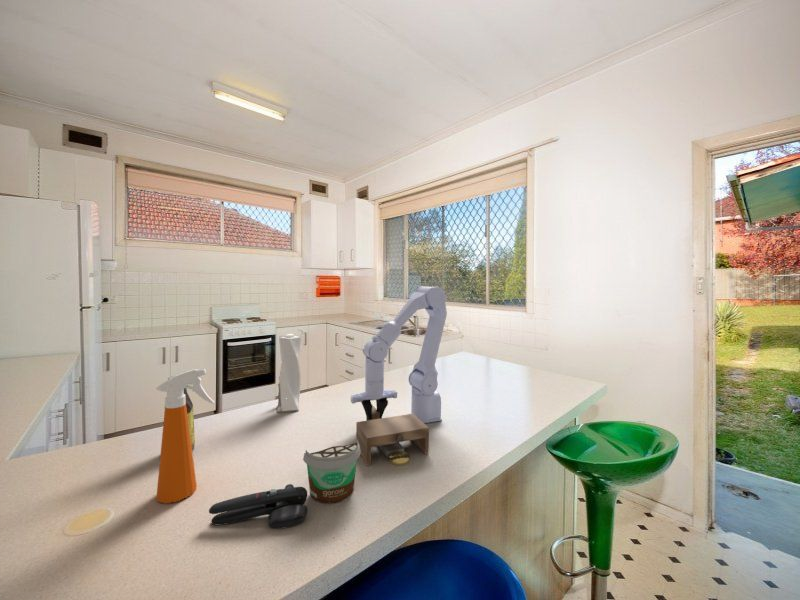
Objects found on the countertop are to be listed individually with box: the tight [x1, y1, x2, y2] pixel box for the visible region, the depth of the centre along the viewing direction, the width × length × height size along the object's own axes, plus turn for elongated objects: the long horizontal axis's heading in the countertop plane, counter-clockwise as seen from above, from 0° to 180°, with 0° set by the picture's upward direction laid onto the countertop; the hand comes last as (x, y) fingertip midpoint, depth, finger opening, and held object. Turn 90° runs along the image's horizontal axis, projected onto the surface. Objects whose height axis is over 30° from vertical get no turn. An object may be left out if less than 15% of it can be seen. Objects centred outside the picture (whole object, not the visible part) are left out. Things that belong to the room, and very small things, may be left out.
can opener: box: [208, 483, 309, 529], centre depth 63 cm, size 18×7×6 cm, turn 98°
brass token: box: [389, 451, 410, 467], centre depth 85 cm, size 5×5×1 cm
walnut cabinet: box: [355, 413, 430, 467], centre depth 89 cm, size 17×11×7 cm, turn 113°
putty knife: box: [365, 406, 405, 458], centre depth 97 cm, size 5×22×5 cm, turn 22°
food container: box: [302, 439, 361, 505], centre depth 70 cm, size 12×6×10 cm, turn 117°
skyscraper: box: [276, 329, 303, 414], centre depth 117 cm, size 8×8×28 cm
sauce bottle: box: [167, 375, 196, 451], centre depth 87 cm, size 7×6×20 cm
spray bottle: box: [156, 368, 215, 504], centre depth 70 cm, size 7×11×26 cm, turn 107°
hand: (374, 422), depth 104 cm, fingers closed on putty knife, 2 cm apart
